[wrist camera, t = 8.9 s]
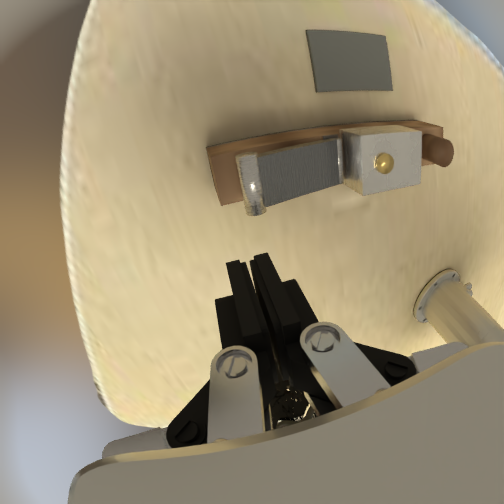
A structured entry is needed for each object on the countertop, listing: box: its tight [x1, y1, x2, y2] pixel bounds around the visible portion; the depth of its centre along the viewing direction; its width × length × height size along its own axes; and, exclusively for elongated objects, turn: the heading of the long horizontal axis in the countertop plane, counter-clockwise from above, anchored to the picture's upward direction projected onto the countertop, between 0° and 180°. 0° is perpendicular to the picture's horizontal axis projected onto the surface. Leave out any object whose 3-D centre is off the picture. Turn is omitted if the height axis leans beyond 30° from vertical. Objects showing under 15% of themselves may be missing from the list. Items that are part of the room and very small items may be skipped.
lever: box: [235, 138, 344, 216], centre depth 22 cm, size 2×5×10 cm
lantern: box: [269, 353, 317, 430], centre depth 32 cm, size 10×9×28 cm
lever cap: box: [339, 125, 422, 196], centre depth 23 cm, size 7×5×4 cm
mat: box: [306, 30, 393, 92], centre depth 24 cm, size 10×7×1 cm
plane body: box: [206, 120, 454, 206], centre depth 25 cm, size 26×4×8 cm, turn 99°
